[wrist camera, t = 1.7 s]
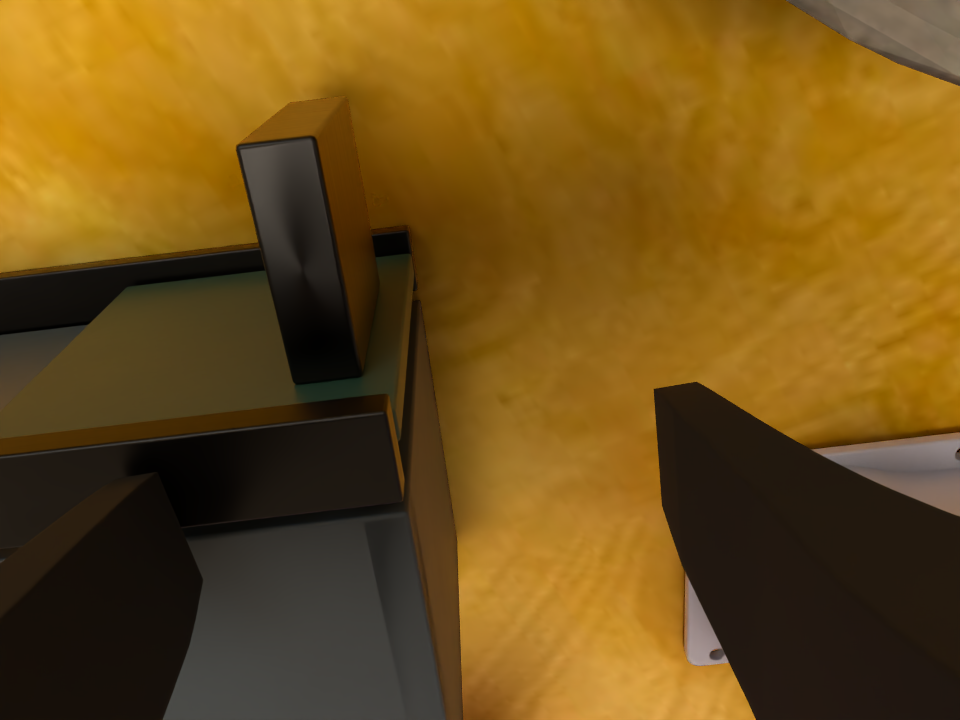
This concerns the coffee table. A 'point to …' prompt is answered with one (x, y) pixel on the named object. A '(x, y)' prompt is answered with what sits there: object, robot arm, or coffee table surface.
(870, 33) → the bowl
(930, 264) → the coffee table surface
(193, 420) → the cabinet
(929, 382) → the coffee table surface
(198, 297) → the sliding door
